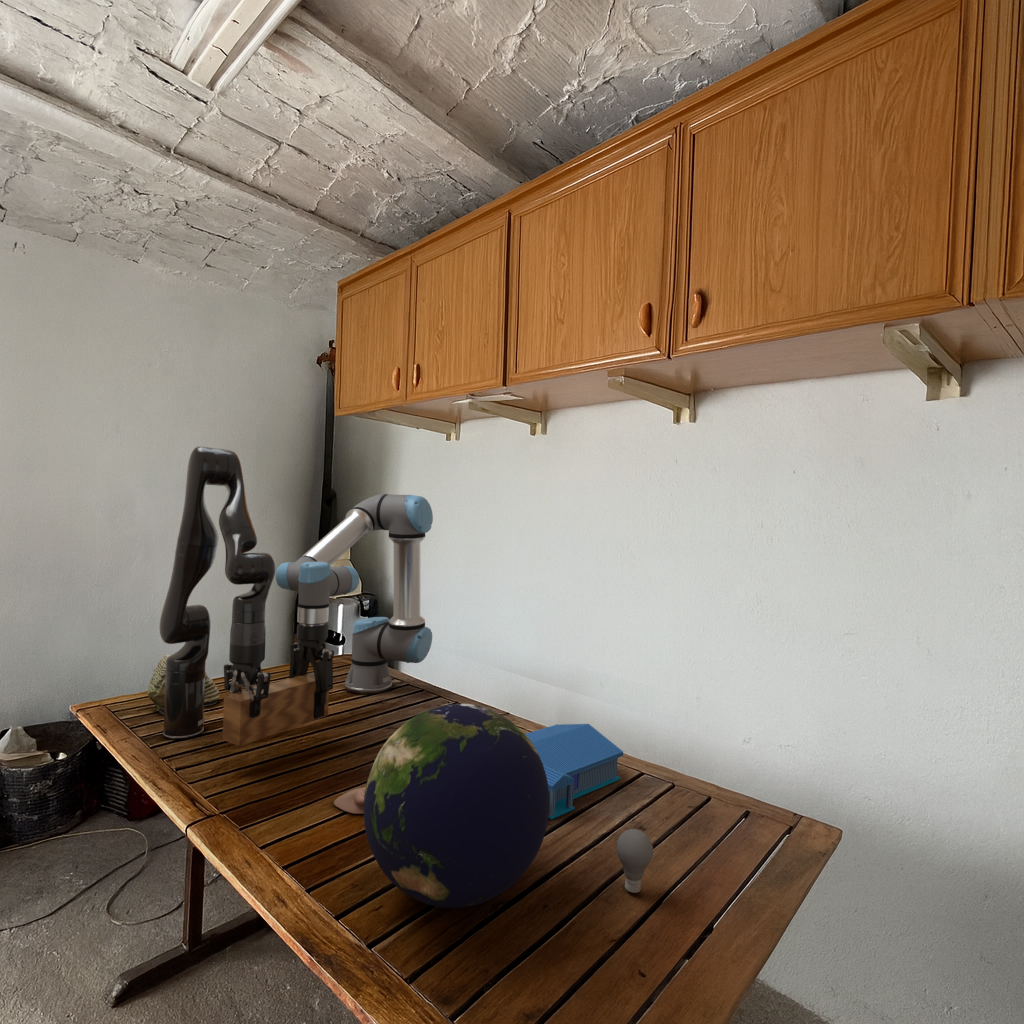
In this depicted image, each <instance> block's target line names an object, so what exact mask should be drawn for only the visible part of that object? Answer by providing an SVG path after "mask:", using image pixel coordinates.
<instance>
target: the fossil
mask: <svg viewBox="0 0 1024 1024" xmlns="http://www.w3.org/2000/svg"><path fill="white" fill-rule="evenodd" d="M170 655H171V654H165V655H164V656H163V657H162V658H161V659H160V660H159V662H158V663H157V666H156V667H155V669H154V670H153V672H152V675H151V677H150V680H149V684H148V688H147V697H148V699H149V700H150V701H152V703H153V704H154V706H155V711H159V710H158V709H159V708H161V710H162V711H164V705H165V674H166V660H167V658H168V657H169V656H170ZM220 698H221V696H220V690H219V688H218V686H217V685H216V683H215V682H214V681H213V679H212V678H211V677H209V675H208V674H207V672H206V671H205V693H204V707H207V706H213V705H215V704H217V703H218V701H219V699H220Z"/></svg>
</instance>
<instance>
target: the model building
mask: <svg viewBox="0 0 1024 1024" xmlns="http://www.w3.org/2000/svg"><path fill="white" fill-rule="evenodd" d="M524 734H525V735H526V736H527V737H528V738H529V739H530V741H531V742H532V744H533V745H534V747H535V749H536V750H537V752H538V754H539V756H540V759H541V761H542V764H543V766H544V770H545V773H546V777H547V782H548V788H549V817H548V820H553V819H556V818H558V817H560V816H563V815H565V814H567V813H570V812H573V811H574V810H576V809H575V808H576V807H575V806H574V804H573V803H574V800H575V799H577V798H580V797H582V796H585V795H587V794H589V793H592V792H594V791H596V790H599V789H601V788H604V787H605V786H608V785H610V784H612V783H615V782H618V781H620V780H621V777H620V776H618V759H619V758H621V757H624V751H623V750H622V749H620V748H619V746H617V744H615V743H613V742H612V741H611V740H609V738H607V737H606V736H605V735H603V733H601V732H600V731H598V730H597V729H596V728H595V727H593V726H592V725H591V724H590V723H563V724H562V723H561V724H554V725H550V726H546V727H544V728H540V729H537V730H534V731H529V732H527V733H524Z"/></svg>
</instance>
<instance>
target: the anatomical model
mask: <svg viewBox="0 0 1024 1024" xmlns="http://www.w3.org/2000/svg"><path fill="white" fill-rule="evenodd" d="M365 789H366V786H364V787H358V788H355V789H351V790H349V791H346V792H345V793H342V794H341V795H340V796H338V797H337V798H336V799H335V800H334V801H333V805H334V806H335V807H336V808H338V809H340V810H341V811H344V812H347V813H348V814H354V815H357V814H358V815H361V814H362V815H364V808H363V806H364V795H365Z"/></svg>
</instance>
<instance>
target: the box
mask: <svg viewBox="0 0 1024 1024" xmlns="http://www.w3.org/2000/svg"><path fill="white" fill-rule="evenodd" d="M321 687H322V686H321ZM263 691H264V689H263V690H262V693H263ZM315 691H317V687H316V682H315V676H314V671H313V672H310V673H307V674H305V675H301V676H298V677H294V678H290V679H289V678H286V679H283V680H279V681H276V682H270V685H269V693H268V697H267V698H265V699H262V700H261V709H260V710H261V711H260V715H259V716H257V717H254V718H252V717H250V701H251V700H250V696H249V693H248V692H246V689H245V690H242V691H241V692H237V693H233V694H230V693H229V694H225V695H223V712H222V713H223V715H222V741H225V742H227V743H230V744H232V745H235V746H238V747H242V746H244V745H247V744H250V743H253V742H256V741H259V740H261V739H262V740H263V739H264V738H267V737H270V736H274V735H276V734H280V733H282V732H285V731H288V730H290V729H294V728H297V727H300V726H302V725H305V724H308V723H311V722H314V721H316V720H320V719H322V718H325V717H328V716H329V703H330V702H329V701H330V700H329V699H330V690H328V691H327V692H326V703H325V704H324V716H322V717H319V718H317V719H315V718H314V693H315ZM254 695H256V690H254Z"/></svg>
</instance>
